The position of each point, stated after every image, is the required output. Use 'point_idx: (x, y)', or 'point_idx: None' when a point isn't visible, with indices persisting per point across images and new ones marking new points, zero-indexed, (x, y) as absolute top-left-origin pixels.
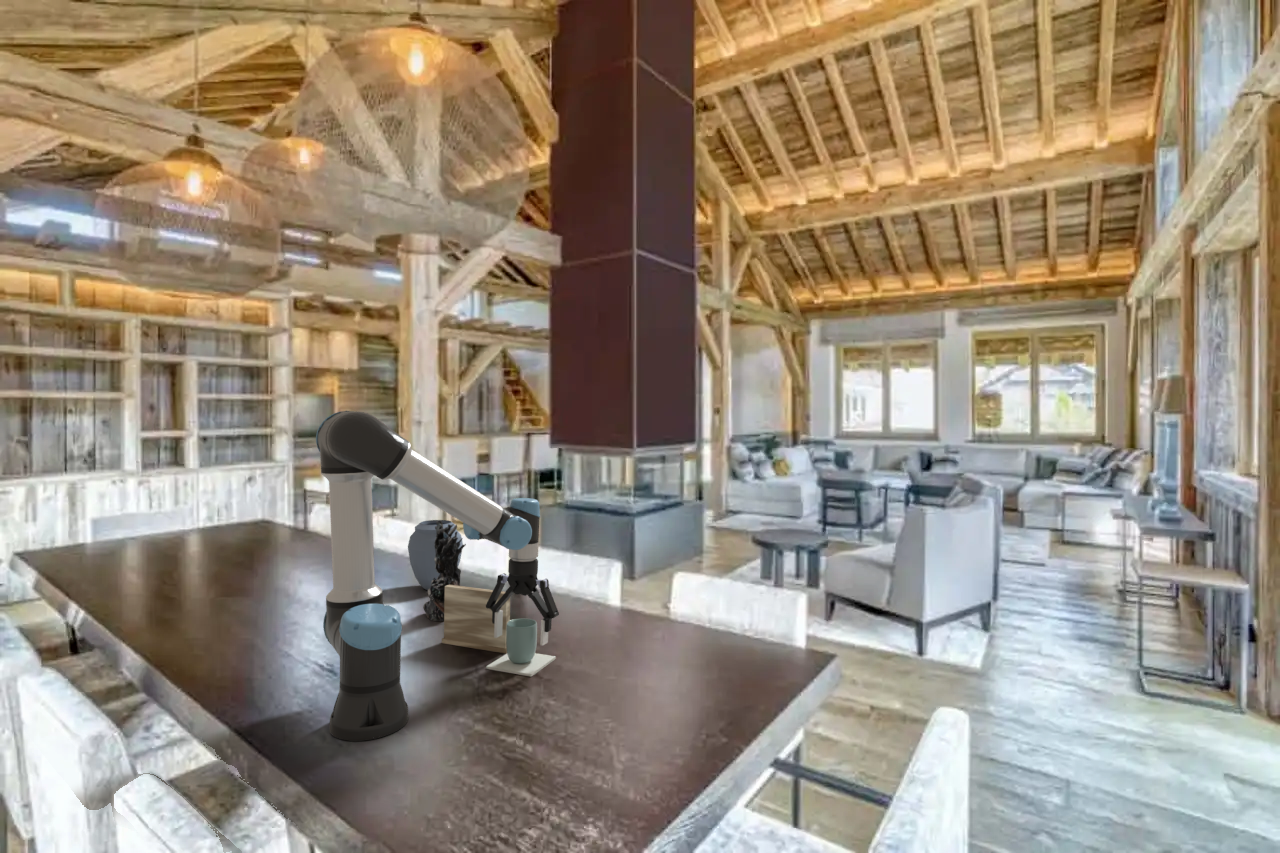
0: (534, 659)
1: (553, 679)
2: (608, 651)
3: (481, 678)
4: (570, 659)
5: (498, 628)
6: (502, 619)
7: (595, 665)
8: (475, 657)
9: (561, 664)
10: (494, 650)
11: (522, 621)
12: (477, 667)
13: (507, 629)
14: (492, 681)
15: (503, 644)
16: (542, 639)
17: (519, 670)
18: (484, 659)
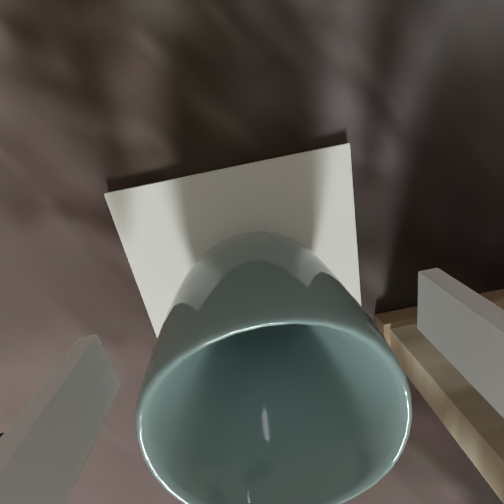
0: None
1: (10, 225)
2: (84, 501)
3: (287, 28)
4: (128, 399)
5: (458, 322)
6: (499, 411)
7: (13, 408)
8: (467, 216)
9: (117, 352)
10: None
11: (333, 470)
12: (392, 132)
13: (336, 299)
14: (212, 30)
15: (409, 336)
16: (60, 365)
17: (182, 196)
18: (418, 222)
